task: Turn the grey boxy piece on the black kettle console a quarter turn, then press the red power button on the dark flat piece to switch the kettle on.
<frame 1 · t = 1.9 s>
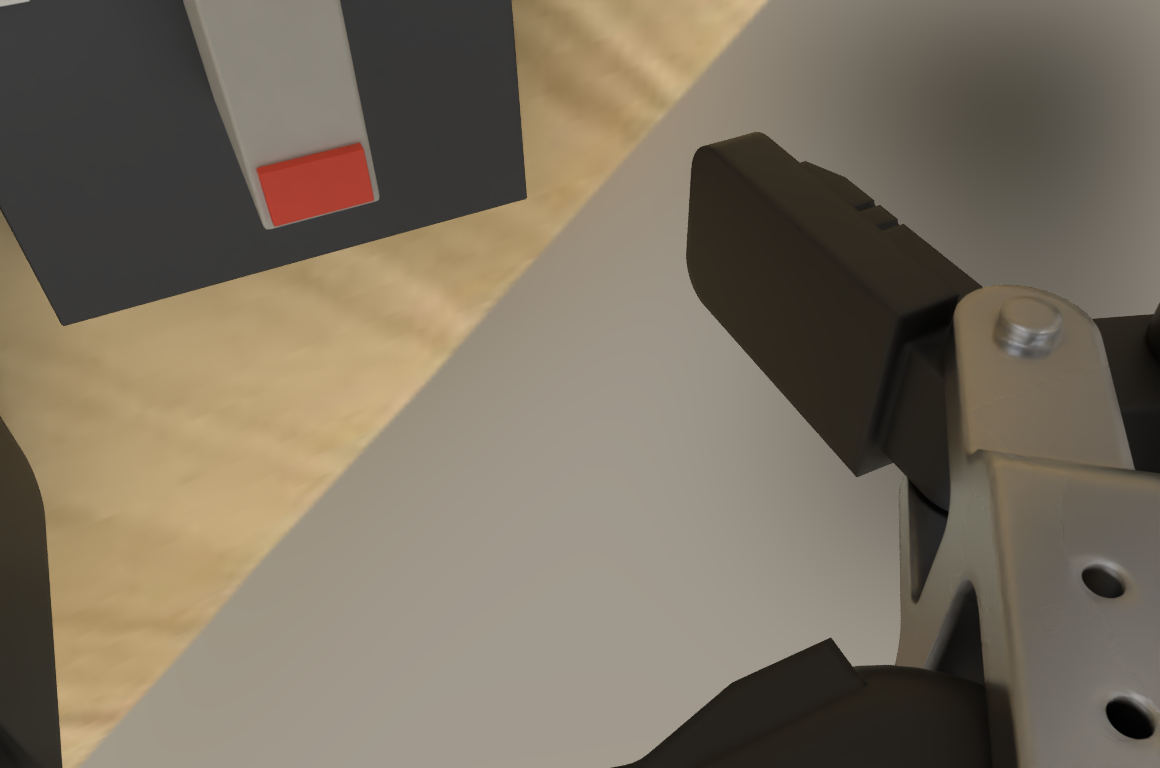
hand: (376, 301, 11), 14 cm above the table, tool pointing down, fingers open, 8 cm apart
grey boxy piece: (254, 4, 16), point 6 cm above the table, hinge at 0.0°
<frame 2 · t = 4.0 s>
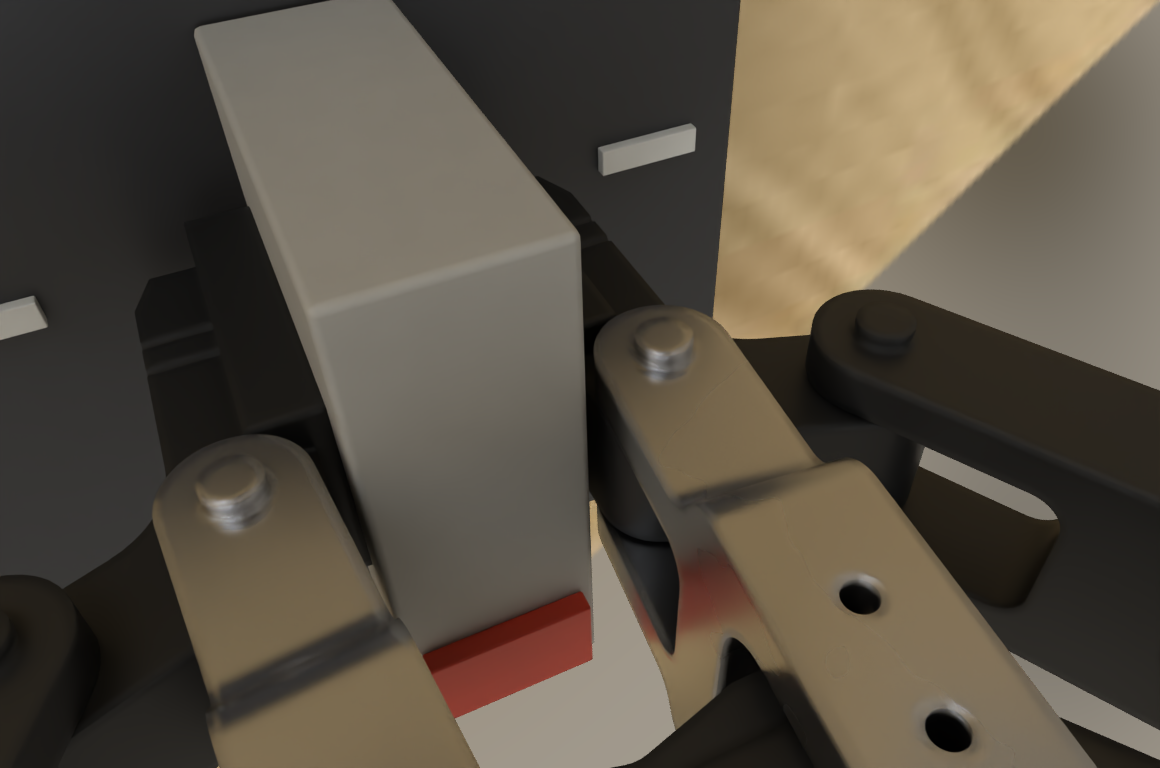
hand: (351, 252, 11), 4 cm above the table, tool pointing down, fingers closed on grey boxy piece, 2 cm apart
grey boxy piece: (407, 358, 10), point 6 cm above the table, hinge at 0.0°, touching gripper
console: (289, 119, 14), on the table
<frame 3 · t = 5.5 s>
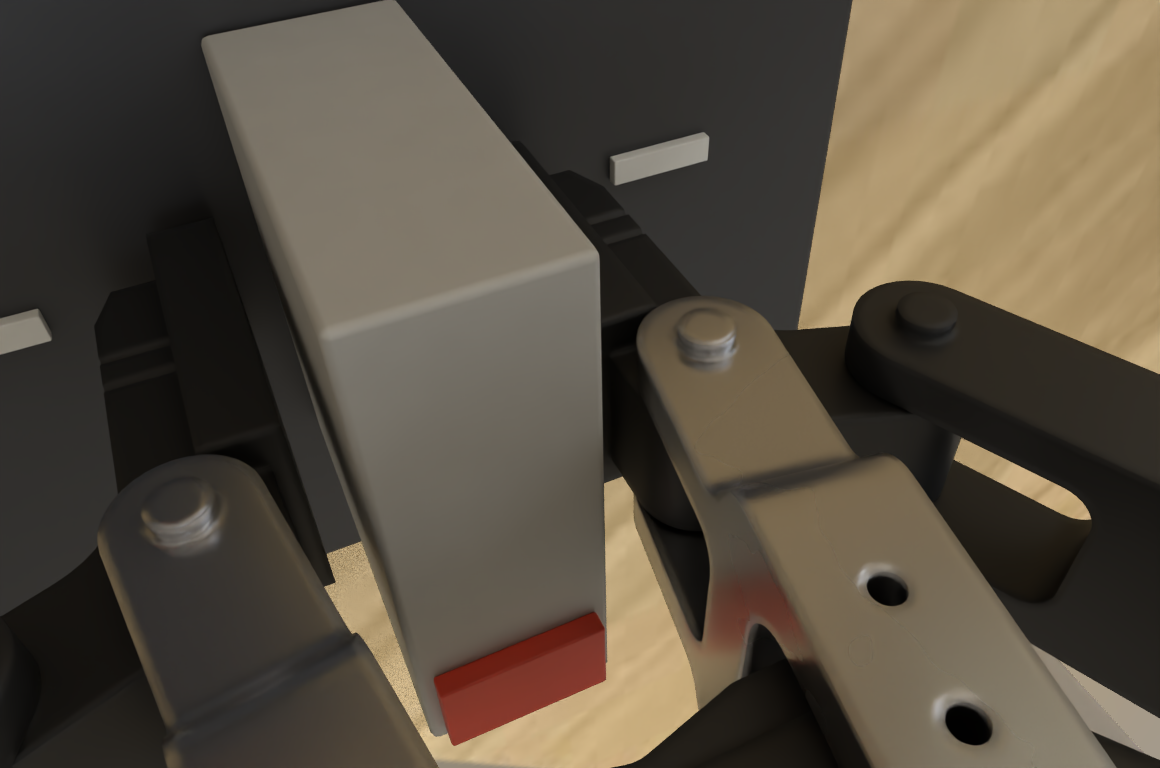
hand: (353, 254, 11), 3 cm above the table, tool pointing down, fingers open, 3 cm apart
grey boxy piece: (418, 374, 10), point 6 cm above the table, hinge at 90.1°
travel mug: (932, 638, 38), on the table
console: (296, 127, 14), on the table
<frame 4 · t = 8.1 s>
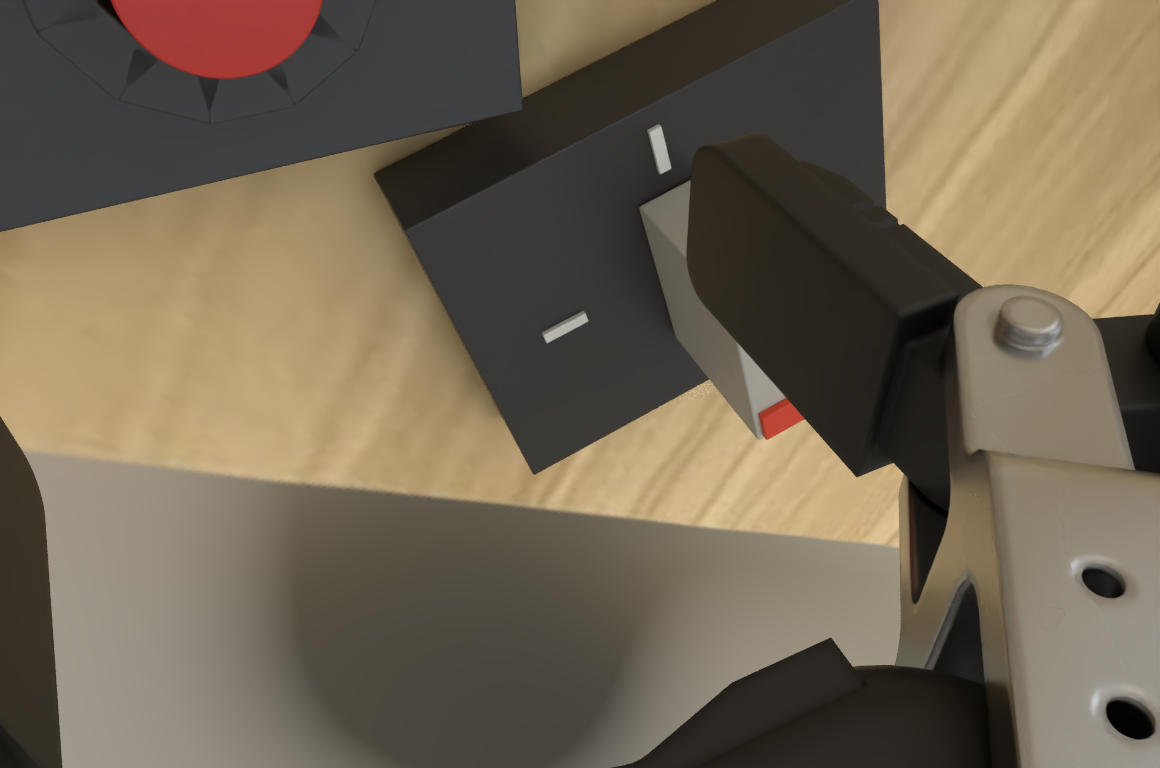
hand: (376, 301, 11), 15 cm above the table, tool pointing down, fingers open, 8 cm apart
grey boxy piece: (731, 311, 27), point 6 cm above the table, hinge at 90.1°
console: (641, 210, 31), on the table
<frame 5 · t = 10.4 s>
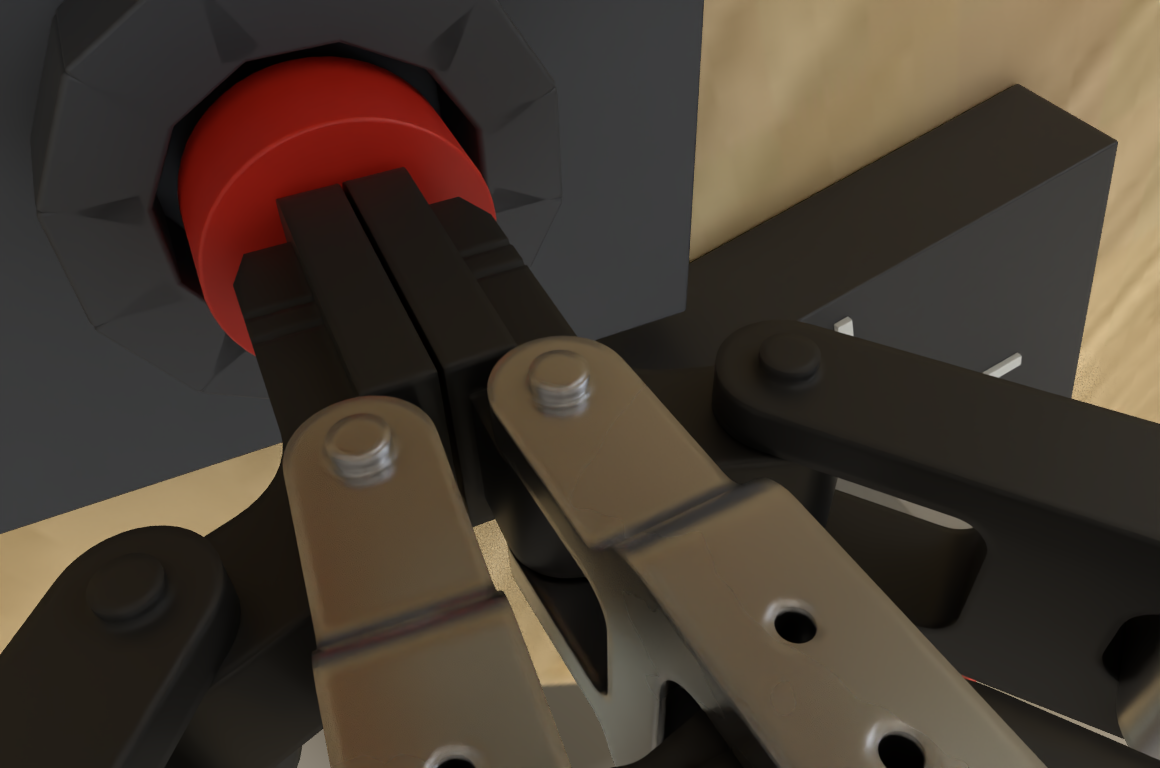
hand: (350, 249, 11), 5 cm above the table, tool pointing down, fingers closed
grey boxy piece: (924, 529, 22), point 6 cm above the table, hinge at 90.1°
power button: (339, 221, 12), point 4 cm above the table, slide at 0.0 cm, touching gripper
dark flat piece: (269, 78, 15), on the table
console: (785, 376, 26), on the table
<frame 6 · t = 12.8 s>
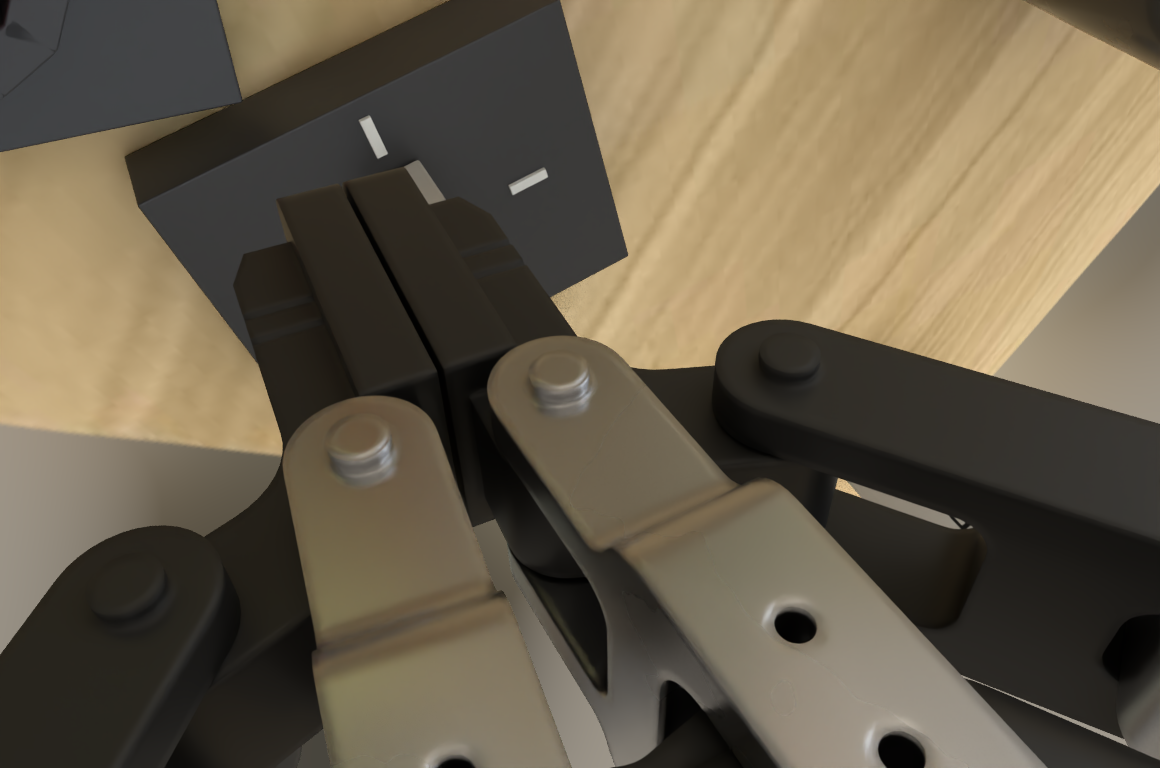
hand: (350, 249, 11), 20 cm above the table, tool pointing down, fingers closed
grey boxy piece: (447, 278, 31), point 6 cm above the table, hinge at 90.1°
travel mug: (843, 392, 57), on the table
console: (393, 190, 35), on the table
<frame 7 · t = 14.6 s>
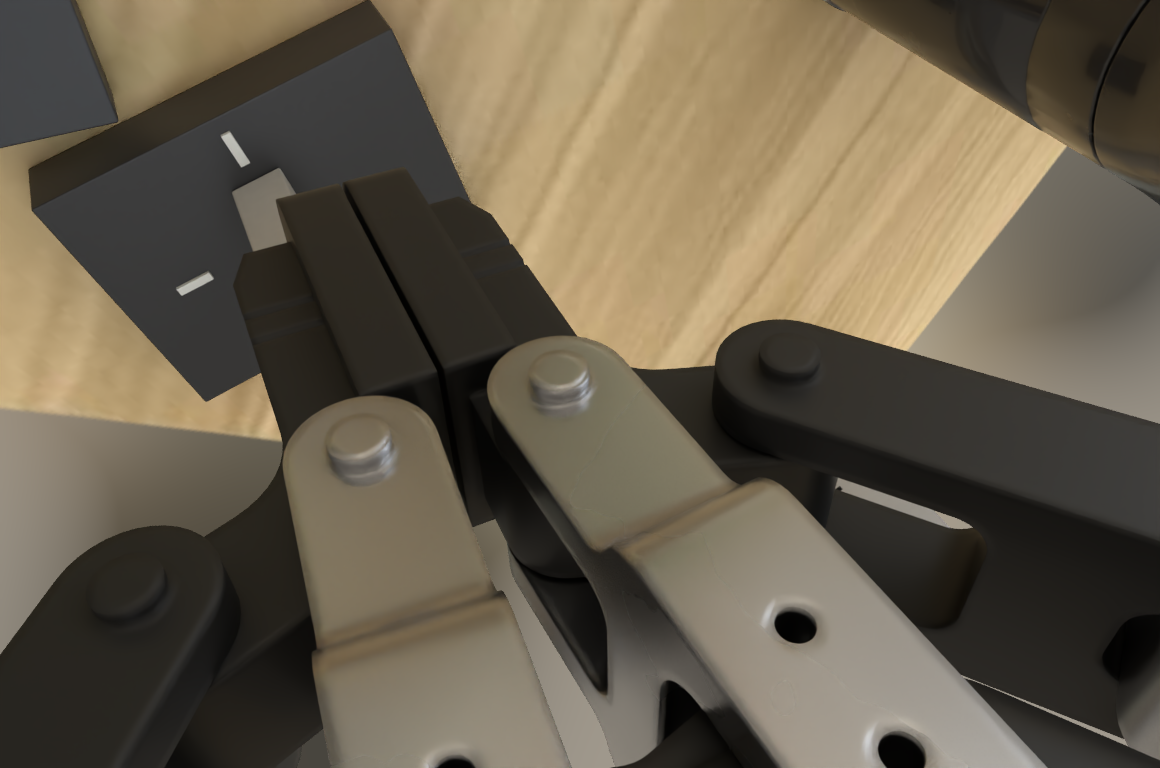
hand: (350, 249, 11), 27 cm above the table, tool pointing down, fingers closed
grey boxy piece: (305, 269, 36), point 6 cm above the table, hinge at 90.1°
travel mug: (744, 376, 62), on the table
console: (274, 195, 40), on the table
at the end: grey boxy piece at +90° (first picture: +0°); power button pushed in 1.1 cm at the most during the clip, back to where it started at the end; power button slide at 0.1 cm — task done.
